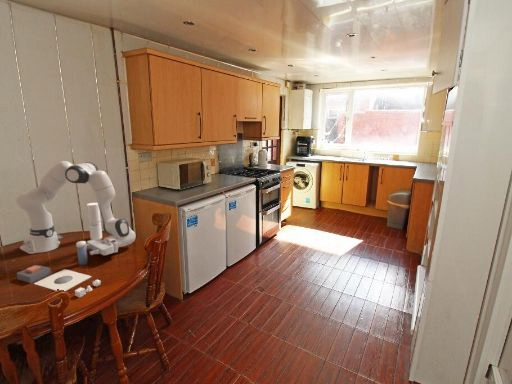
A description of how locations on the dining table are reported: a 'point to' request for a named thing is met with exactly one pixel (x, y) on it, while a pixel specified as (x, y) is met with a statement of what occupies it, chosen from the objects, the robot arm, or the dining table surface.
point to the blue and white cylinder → (82, 252)
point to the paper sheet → (63, 280)
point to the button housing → (33, 274)
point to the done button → (33, 269)
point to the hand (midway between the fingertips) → (86, 251)
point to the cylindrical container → (94, 221)
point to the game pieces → (82, 292)
